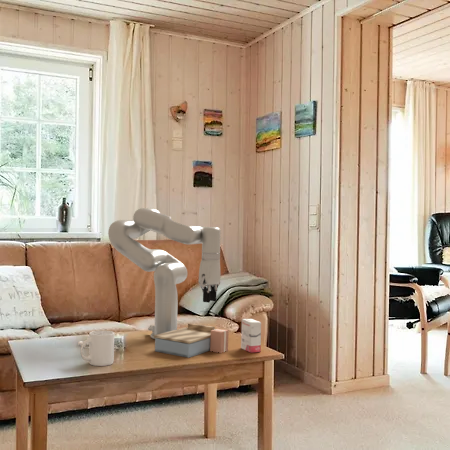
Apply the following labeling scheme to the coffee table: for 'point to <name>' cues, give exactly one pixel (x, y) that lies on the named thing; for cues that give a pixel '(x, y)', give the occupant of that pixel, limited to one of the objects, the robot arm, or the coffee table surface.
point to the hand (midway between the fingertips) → (209, 301)
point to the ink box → (251, 335)
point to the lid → (188, 333)
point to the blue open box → (182, 347)
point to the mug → (100, 348)
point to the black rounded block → (82, 343)
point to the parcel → (219, 340)
